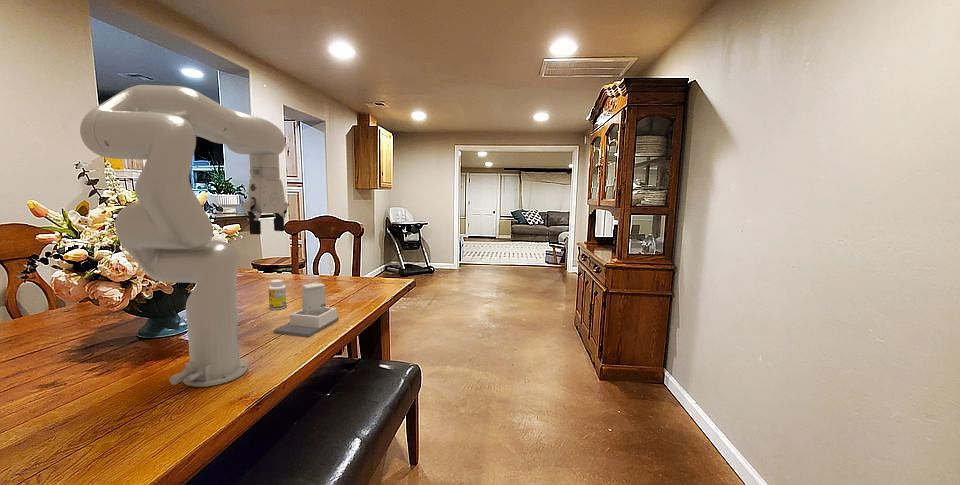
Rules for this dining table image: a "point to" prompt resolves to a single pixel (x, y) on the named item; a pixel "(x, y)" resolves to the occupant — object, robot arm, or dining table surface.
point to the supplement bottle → (277, 295)
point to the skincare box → (313, 299)
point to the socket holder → (308, 323)
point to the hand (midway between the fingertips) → (267, 232)
